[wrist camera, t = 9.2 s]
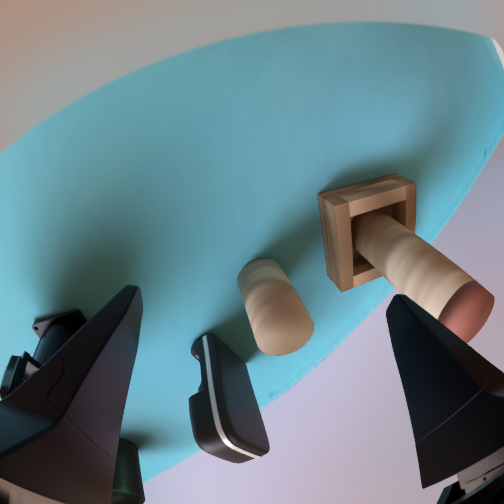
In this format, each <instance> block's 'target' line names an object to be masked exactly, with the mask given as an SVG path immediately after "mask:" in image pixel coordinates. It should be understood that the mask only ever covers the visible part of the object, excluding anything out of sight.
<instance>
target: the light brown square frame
mask: <svg viewBox="0 0 504 504" xmlns="http://www.w3.org/2000/svg"><path fill="white" fill-rule="evenodd" d="M318 201H319V208H320V215H321V223H322V230H323V239H324V247H325V256H326V266H327V276H328V277H329V278H330V280H332V281H333V282H334V283H335V285H336V286H337V287H338V289H339V290H340V291H341V292H343V291H346V290H349V289H351V288H354V287H356V286H359V285H361V284H364V283H366V282H369V281H371V280H374V279H376V278H379V277H381V276H383V275H382V274H381V273H380V272H379V271H378V270H377V269H376V268H375V267H374V266H373V265H372V264H371V263H370V262H369V261H368V260H367V259H366V258H365V257H363V256H362V255H361V254H360V253H359V252H358V251H357V250H356V249H355V248H354V247H353V246H352V236H351V221H352V220H353V218H354V217H355V216H356V215H358V214H362V213H365V212H368V211H371V210H374V209H379V210H381V211H382V212H384V213H385V214H387V215H388V216H390V217H391V218H393V219H394V220H396V221H397V222H399V223H400V224H402V225H403V226H405V227H406V228H407V229H409V230H410V231H412V232H413V233H415V223H416V183H415V182H413V181H410V180H408V179H406V178H404V177H402V176H401V175H399V174H393V175H388V176H384V177H380V178H377V179H373V180H369V181H365V182H361V183H357V184H353V185H350V186H346V187H342V188H338V189H335V190H331V191H327V192H324V193H320V194H318Z"/></svg>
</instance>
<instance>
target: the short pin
mask: <svg viewBox="0 0 504 504" xmlns="http://www.w3.org/2000/svg"><path fill="white" fill-rule="evenodd" d="M238 287H239V290H240V293H241V296H242V299H243V302H244V306H245V309H246V312H247V315H248V318H249V321H250V324H251V327H252V330H253V333H254V337H255V340H256V343H257V345H258V347H259V349H260V350H261V351H262V352H264V353H266V354H269V355H274V356H280V355H286V354H289V353H292V352H294V351H296V350H298V349H300V348H301V347H302V346H304V345H305V344H306V343H307V342H308V341H309V339H310V338H311V336H312V334H313V331H314V323H313V321H312V319H311V317H310V315H309V314H308V312H307V310H306V309H305V307H304V305H303V303H302V302H301V300H300V298H299V296H298V295H297V293H296V291H295V290H294V288H293V286H292V284H291V283H290V281H289V279H288V278H287V276H286V274H285V272H284V271H283V269H282V267H281V266H280V265H279V264H278V263H277V262H276V261H274V260H272V259H268V258H261V259H256V260H253V261H251V262H249V263H248V264H247V265H245V266H244V267H243V268H242V270H241V271H240V273H239V276H238Z"/></svg>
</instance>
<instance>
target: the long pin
mask: <svg viewBox="0 0 504 504" xmlns="http://www.w3.org/2000/svg"><path fill="white" fill-rule="evenodd" d="M351 236H352V246H353V247H354V248H355V249H356V250H357V251H358V252H359V253H360V254H361V255H362V256H363V257H365V258H366V259H367V260H368V261H369V262H370V263H371V264H372V265H373V266H374V267H375V268H376V269H377V270H378V271H379V272H380V273H381V274H382V275H383V276H384V277H385V278H386V279H387V280H388V281H389V282H390V283H391V284H392V285H393V286H394V287H395V288H396V289H397V290H398V291H399V292H400V293H401V294H405V295H406V296H408V297H409V298H410V299H412V300H413V301H414V302H416V303H417V304H418V305H419V306H421V307H422V308H423V309H425V310H426V311H427V312H428V313H430V314H431V315H432V316H434V317H435V318H436V319H437V320H439V321H440V322H441V323H442V324H444V325H445V326H446V327H447V328H448V329H450V330H451V331H452V332H453V333H455V334H456V335H457V336H458V337H460V338H461V339H462V340H463V341H464V342H466V343H468V342H469V341H470V340H471V339H472V338H473V337H474V336H475V335H476V334H477V333H478V332H479V331H480V329H481V328H482V327H483V325H484V324H485V322H486V321H487V319H488V317H489V315H490V313H491V311H492V308H493V305H494V296H493V295H492V294H491V293H490V292H489V291H487V290H486V289H485V288H484V287H483V286H482V285H481V284H479V283H478V282H477V281H476V280H475V279H473V278H472V277H471V276H470V275H468V274H467V273H466V272H465V271H464V270H462V269H461V268H460V267H459V266H457V265H456V264H455V263H454V262H452V261H451V260H450V259H448V258H447V257H445V256H444V255H443V254H442V253H440V252H439V251H438V250H437V249H435V248H434V247H433V246H431V245H430V244H428V243H427V242H426V241H424V240H423V239H422V238H420V237H419V236H417V235H416V234H415V233H413V232H412V231H410V230H409V229H407V228H406V227H405V226H403V225H402V224H400V223H399V222H397V221H396V220H394V219H393V218H391V217H390V216H388V215H387V214H385V213H384V212H382V211H381V210H379V209H374V210H371V211H368V212H365V213H362V214H358V215H356V216H355V217H354V218H353V220H352V221H351Z"/></svg>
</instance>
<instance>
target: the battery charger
mask: <svg viewBox="0 0 504 504" xmlns="http://www.w3.org/2000/svg"><path fill="white" fill-rule="evenodd" d="M191 354H192V355H193V356H194V357H195V358H196V359H197V360H198V361H199V362H200V366H201V378H202V381H201V384H200V387H199V389H198V391H199V392H198V393H196V394H194V395H192V396H191V397H190V398H189V413H190V420H191V425H192V431H193V435H194V439H195V441H196V443H197V444H198V446H199V447H200V448H201V449H202V450H204V451H206V452H207V453H209V454H211V455H213V456H216V457H218V458H221V459H223V460H227V461H230V462H233V463H243V462H246V461H249V460H252V459H255V458H260V457H263V455H265V454H267V453H268V452H269V449H270V447H269V441H268V437H267V434H266V430H265V427H264V423H263V420H262V417H261V413H260V410H259V407H258V404H257V401H256V397H255V394H254V391H253V388H252V384H251V381H250V377H249V374H248V370H247V366H246V365H245V364H244V363H243V362H242V361H241V360H240V359H239V358H238V357H237V356H236V355H235V354H234V353H233V352H232V351H231V350H230V349H229V348H228V347H227V346H226V345H225V344H224V343H223V342H222V341H221V340H220V339H219V338H217V337H216V336H215V335H214V334H209V335H205V336H203V338H201V339H200V340H198V341H196V342H195V343H194V344H193V345H192V347H191Z"/></svg>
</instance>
